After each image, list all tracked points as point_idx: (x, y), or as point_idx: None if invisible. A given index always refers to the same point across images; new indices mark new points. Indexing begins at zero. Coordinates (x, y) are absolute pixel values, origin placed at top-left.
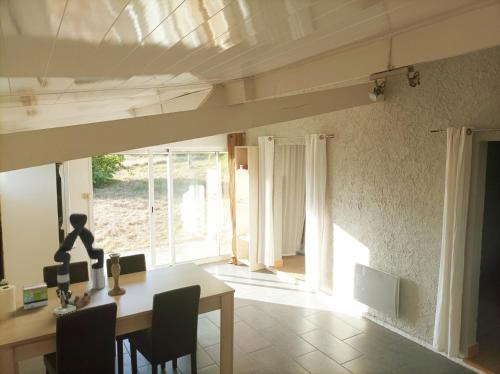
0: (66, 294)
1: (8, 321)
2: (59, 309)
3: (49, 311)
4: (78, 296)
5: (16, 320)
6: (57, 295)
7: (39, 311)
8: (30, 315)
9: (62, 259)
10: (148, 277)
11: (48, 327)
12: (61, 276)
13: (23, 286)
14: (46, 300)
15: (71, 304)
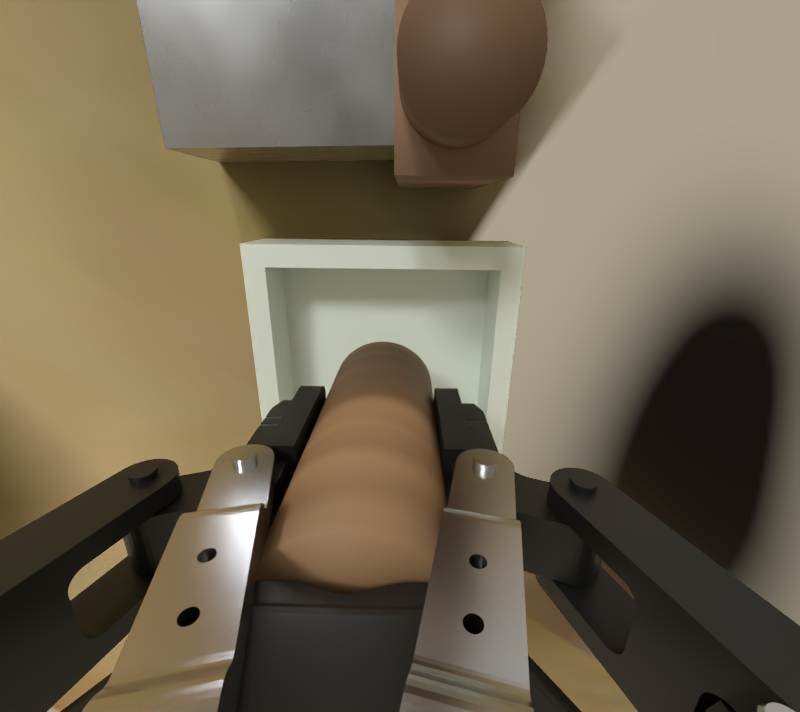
0: (426, 576)
1: (66, 694)
2: (289, 384)
3: (169, 422)
4: (516, 23)
5: (106, 666)
6: (95, 606)
7: (53, 466)
8: (92, 565)
9: None
10: None
11: (552, 666)
12: None
13: None
14: None
15: (300, 154)
